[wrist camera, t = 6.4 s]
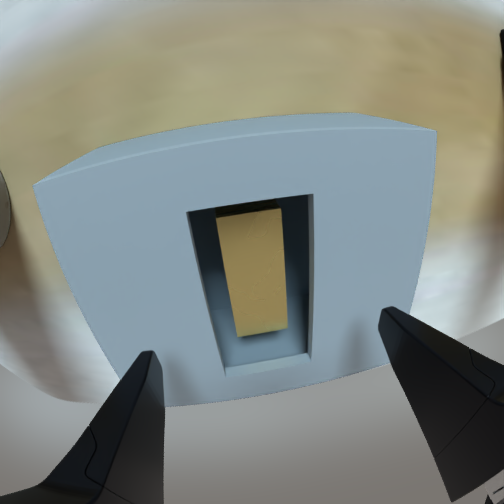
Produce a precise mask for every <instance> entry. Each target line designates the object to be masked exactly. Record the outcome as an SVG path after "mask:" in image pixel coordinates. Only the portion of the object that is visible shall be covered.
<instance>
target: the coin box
mask: <svg viewBox="0 0 504 504" xmlns="http://www.w3.org/2000/svg"><path fill="white" fill-rule="evenodd" d="M436 143H437V131H435V130H431V129H428V128H424V127H420V126H416V125H412V124H408V123H403V122H399V121H394V120H390V119H385V118H380V117H375V116H369V115H364V114H358V113H319V114H298V115H283V116H271V117H260V118H250V119H241V120H233V121H226V122H218V123H212V124H205V125H199V126H193V127H187V128H182V129H176V130H171V131H166V132H161V133H156V134H151V135H147V136H142V137H138V138H134V139H130V140H126V141H122V142H118V143H114V144H110V145H106V146H103V147H99V148H97V149H95V150H93V151H91V152H89V153H87V154H85V155H83V156H81V157H80V158H78V159H76V160H74V161H72V162H71V163H69V164H67V165H65V166H64V167H62V168H60V169H58V170H57V171H55V172H53V173H52V174H50V175H48V176H47V177H45V178H44V179H42V180H40V181H39V182H37V183H36V184H34V185H33V189H34V193H35V196H36V200H37V203H38V206H39V209H40V212H41V215H42V218H43V221H44V224H45V227H46V230H47V233H48V235H49V238H50V241H51V243H52V246H53V249H54V251H55V254H56V256H57V259H58V261H59V264H60V266H61V268H62V271H63V273H64V275H65V278H66V280H67V282H68V284H69V287H70V289H71V291H72V293H73V295H74V297H75V299H76V302H77V304H78V306H79V308H80V310H81V312H82V314H83V316H84V318H85V320H86V321H87V323H88V325H89V327H90V329H91V331H92V333H93V335H94V336H95V338H96V340H97V342H98V344H99V345H100V347H101V349H102V351H103V352H104V354H105V356H106V357H107V359H108V361H109V362H110V364H111V366H112V367H113V369H114V371H115V372H116V374H117V375H118V377H119V378H120V380H121V379H122V377H123V376H124V374H125V373H126V372H127V370H128V369H129V368H130V366H131V365H132V363H133V362H134V361H135V359H136V358H137V357H138V355H139V354H140V353H141V352H142V351H147V350H153V351H154V352H155V353H156V355H157V358H158V360H159V362H160V364H161V366H162V370H163V386H164V402H165V407H171V406H184V405H195V404H205V403H213V402H221V401H229V400H236V399H241V398H249V397H255V396H261V395H266V394H272V393H277V392H282V391H287V390H292V389H296V388H301V387H305V386H310V385H314V384H318V383H322V382H326V381H330V380H334V379H338V378H341V377H345V376H348V375H352V374H355V373H359V372H362V371H366V370H369V369H372V368H375V367H378V366H382V365H385V364H388V363H390V361H389V358H388V355H387V352H386V350H385V347H384V344H383V342H382V339H381V337H380V334H379V331H378V323H379V318H380V313H381V310H382V309H383V308H385V307H389V306H394V307H396V308H398V309H400V310H402V311H403V312H405V313H407V314H409V313H410V310H411V306H412V302H413V298H414V294H415V290H416V286H417V282H418V277H419V273H420V268H421V263H422V259H423V253H424V248H425V243H426V237H427V231H428V225H429V218H430V211H431V203H432V195H433V185H434V175H435V161H436ZM274 198H275V200H276V201H277V203H278V204H279V206H280V207H281V215H282V229H283V245H284V261H285V279H286V298H287V320H288V328H286V329H281V330H276V331H270V332H265V333H259V334H253V335H248V336H242V337H237V332H236V327H235V321H234V316H233V311H232V306H231V301H230V295H229V290H228V284H227V279H226V274H225V268H224V262H223V257H222V251H221V246H220V240H219V234H218V228H217V222H216V214H215V207H219V206H226V205H232V204H239V203H246V202H252V201H259V200H267V199H274Z"/></svg>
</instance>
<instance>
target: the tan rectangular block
mask: <svg viewBox="0 0 504 504" xmlns="http://www.w3.org/2000/svg"><path fill="white" fill-rule="evenodd" d="M215 214H216V222H217V228H218V234H219V240H220V246H221V251H222V257H223V262H224V268H225V274H226V279H227V284H228V290H229V295H230V301H231V306H232V311H233V316H234V321H235V327H236V332H237V337H242V336H248V335H253V334H259V333H265V332H270V331H276V330H281V329H286V328H288V320H287V298H286V279H285V261H284V245H283V229H282V215H281V207H280V206H279V204H278V203H277V201H276V200H275V198H274V199H267V200H259V201H252V202H246V203H239V204H232V205H226V206H219V207H215Z"/></svg>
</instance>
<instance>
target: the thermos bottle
mask: <svg viewBox="0 0 504 504" xmlns="http://www.w3.org/2000/svg"><path fill="white" fill-rule="evenodd" d="M9 226H10V201H9V195H8V191H7V187H6V183H5V181H4V179H3V176H2V174H1V172H0V247H1V246H2V245H3V243H4V241H5V239H6V237H7V234H8V230H9Z"/></svg>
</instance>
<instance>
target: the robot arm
mask: <svg viewBox="0 0 504 504" xmlns="http://www.w3.org/2000/svg"><path fill="white" fill-rule="evenodd" d="M501 36H502V43H503V51H504V29H502V30H501ZM378 331H379V334H380V337H381V339H382V342H383V344H384V347H385V350H386V352H387V355H388V358H389V361H390V363H391V365H392V368H393V370H394V372H395V374H396V376H397V378H398V380H399V382H400V384H401V386H402V388H403V390H404V392H405V395H406V397H407V399H408V401H409V403H410V405H411V407H412V409H413V411H414V414H415V416H416V418H417V420H418V422H419V425H420V427H421V429H422V431H423V434H424V436H425V438H426V440H427V443H428V445H429V447H430V450H431V452H432V455H433V457H434V460H435V462H436V465H437V467H438V470H439V472H440V474H441V477H442V480H443V482H444V485H445V487H446V490H447V492H448V495H449V498H450V500H451V502H454V501H456V500H458V499H459V498H461V497H463V496H465V495H466V494H468V493H470V492H471V491H473V490H474V489H476V488H477V487H479V486H481V485H482V484H484V486H485V489H486V491H487V493H488V495H487V499H486V502H485V504H504V365H502V364H500V363H498V362H496V361H494V360H491V359H489V358H488V357H485V356H484V355H482V354H480V353H478V352H476V351H474V350H473V349H469V347H467V346H465V345H463V344H462V343H460V342H458V341H456V340H455V339H453V338H451V337H449V336H447V335H446V334H444V333H442V332H440V331H438V330H436V329H435V328H433V327H431V326H429V325H427V324H426V323H424V322H422V321H420V320H418V319H416V318H414V317H413V316H411V315H409V314H407V313H405V312H403V311H402V310H400V309H398V308H396V307H394V306H389V307H385V308H383V309H382V310H381V313H380V318H379V323H378ZM164 428H165V402H164V386H163V370H162V366H161V364H160V362H159V360H158V358H157V355H156V353H155V352H154V351H153V350H147V351H142V352H141V353H140V354H139V355H138V357H137V358H136V359H135V361H134V362H133V363H132V365H131V366H130V368H129V369H128V370H127V372H126V373H125V374H124V376H123V377H122V379H121V380H120V381H119V383H118V384H117V386H116V387H115V388H114V390H113V391H112V393H111V394H110V395H109V397H108V398H107V400H106V401H105V402H104V404H103V405H102V407H101V408H100V410H99V411H98V412H97V414H96V415H95V417H94V418H93V420H92V421H91V422H90V424H89V426H88V427H87V428H86V429H85V431H84V432H83V434H82V435H81V437H80V438H79V439H78V441H77V442H76V443H75V445H74V446H73V447H72V449H71V450H70V451H69V452H68V453H67V455H66V456H65V457H64V458H63V459H62V460H61V462H60V463H59V464H58V465H57V466H56V467H55V469H54V470H53V471H52V472H51V473H50V475H48V477H47V478H46V479H45V480H43V481H42V482H41V483H39V484H38V485H36V486H34V487H31V488H28V489H24V490H21V491H18V492H14V493H11V494H7V495H4V496H0V504H164V494H163V493H164V492H163V469H164V467H163V466H164Z"/></svg>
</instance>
